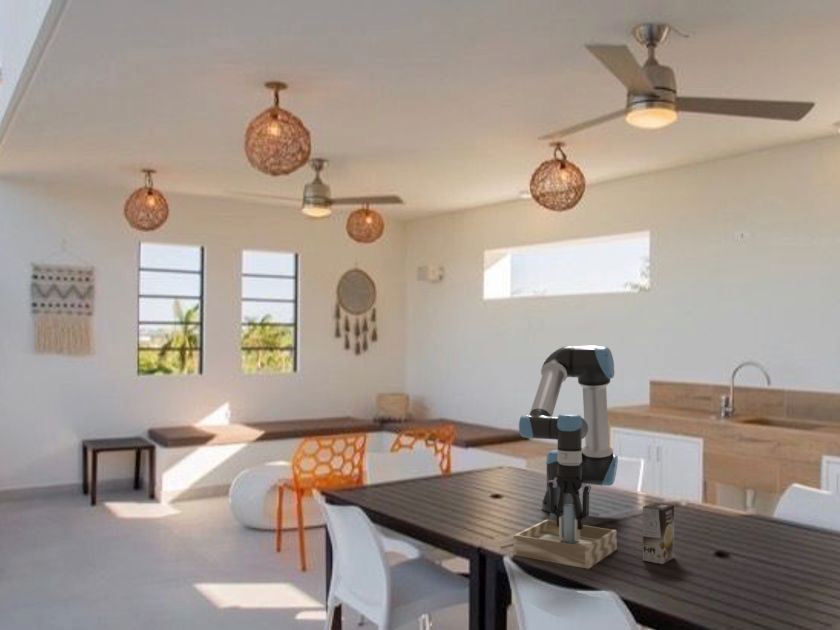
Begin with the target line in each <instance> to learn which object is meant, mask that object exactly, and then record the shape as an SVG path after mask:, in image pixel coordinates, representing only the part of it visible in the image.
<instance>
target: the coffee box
mask: <svg viewBox="0 0 840 630" xmlns="http://www.w3.org/2000/svg"><path fill="white" fill-rule="evenodd" d="M674 558H675V505H674V504H670V503H662V502H652V503H649V504H647V505H646V504H645V505H644V506H643V507H642V561H644V562H650V563H655V564H658V563H659V564H660V565H664V564H665V563H667V562H669V561H671V560H673V559H674Z"/></svg>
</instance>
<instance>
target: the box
mask: <svg viewBox="0 0 840 630" xmlns="http://www.w3.org/2000/svg"><path fill="white" fill-rule="evenodd" d="M617 534H618V531H617V530H616V529H612V528H611V529H610V528H604V527H598V526H591V525H586V524H585V525H584V524H583V528H582V529H581V530H580V539H579V540H577V541H576V540H575V544H569V543H564V537H563V538H559V526H557V521H552V520H549V519H544V520H542V521H541V522H540V521H539V522H538V523H536V524H534V525H532V526H530V527H528V528H526V529H523V530H522V531H519V532H517V533H515V534H513V540H512V541H513V542H512V543H513V552H512V554H513V556H517V557H521V558H528V559H534V560H540V561H543V562H549V561H550V562H549V563H556V564H560V565H567V566H571V567H577V568H582V569H587V570H589V569H591V568H592V567H593V566H595V565H596V564H597V563H599V562H600V561H603V559H605V558H607V556H609V555H611V554H612V553H614V552H615V551H617V549H618V545H617V543H618V539H617V537H618V535H617Z"/></svg>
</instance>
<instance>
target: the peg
mask: <svg viewBox="0 0 840 630" xmlns="http://www.w3.org/2000/svg"><path fill="white" fill-rule="evenodd" d="M574 519H576V513H575V506H574V505H572V504H565V505H564V543H569V544H575V532H574Z"/></svg>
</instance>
